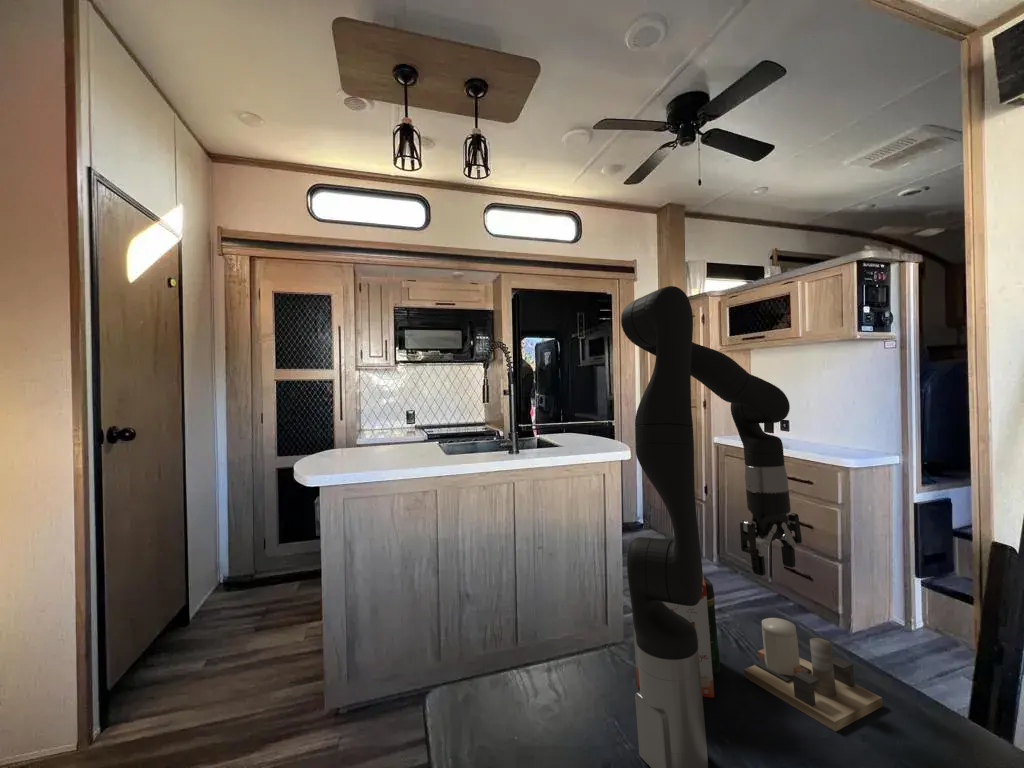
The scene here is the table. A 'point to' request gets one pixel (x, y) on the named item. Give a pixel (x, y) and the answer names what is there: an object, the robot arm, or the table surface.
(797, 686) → the bulb mounting plate
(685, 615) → the cracker box
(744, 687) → the table surface
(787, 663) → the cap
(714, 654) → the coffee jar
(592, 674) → the table surface
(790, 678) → the mat
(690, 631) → the robot arm
